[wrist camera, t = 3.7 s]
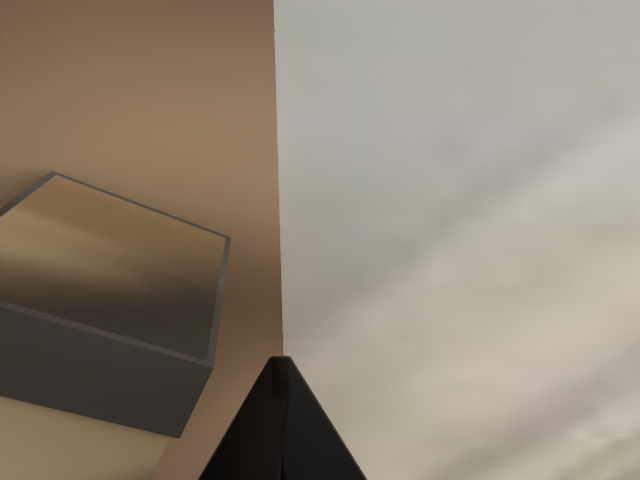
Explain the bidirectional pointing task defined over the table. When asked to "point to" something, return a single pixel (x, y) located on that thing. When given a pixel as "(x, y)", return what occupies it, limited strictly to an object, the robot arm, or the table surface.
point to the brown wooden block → (161, 150)
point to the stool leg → (101, 331)
